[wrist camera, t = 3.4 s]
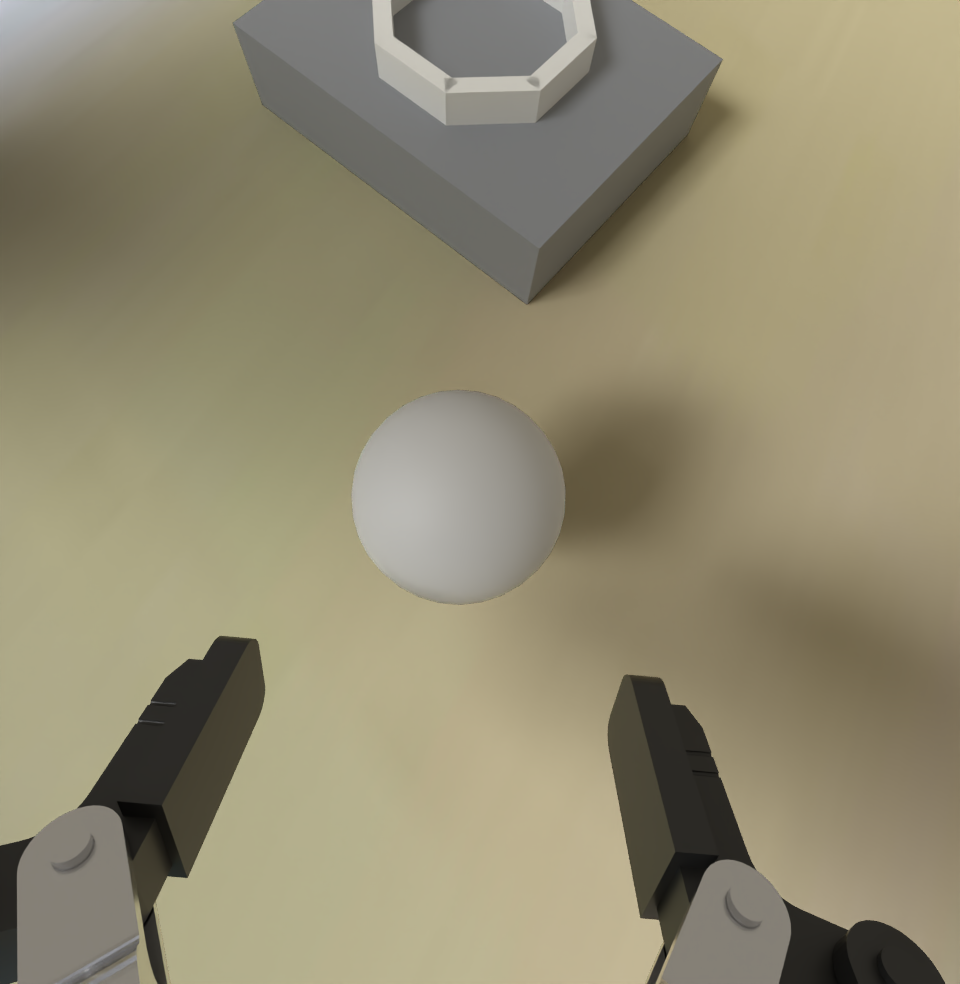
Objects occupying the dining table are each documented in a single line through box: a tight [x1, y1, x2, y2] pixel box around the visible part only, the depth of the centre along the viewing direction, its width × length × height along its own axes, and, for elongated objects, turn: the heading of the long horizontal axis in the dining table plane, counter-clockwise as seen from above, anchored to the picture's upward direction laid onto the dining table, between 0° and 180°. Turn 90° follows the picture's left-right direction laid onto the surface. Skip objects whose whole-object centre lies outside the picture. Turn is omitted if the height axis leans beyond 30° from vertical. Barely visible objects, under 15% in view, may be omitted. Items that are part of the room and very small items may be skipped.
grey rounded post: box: [352, 390, 565, 605], centre depth 18 cm, size 6×6×11 cm
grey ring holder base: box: [233, 0, 723, 304], centre depth 27 cm, size 18×14×6 cm
